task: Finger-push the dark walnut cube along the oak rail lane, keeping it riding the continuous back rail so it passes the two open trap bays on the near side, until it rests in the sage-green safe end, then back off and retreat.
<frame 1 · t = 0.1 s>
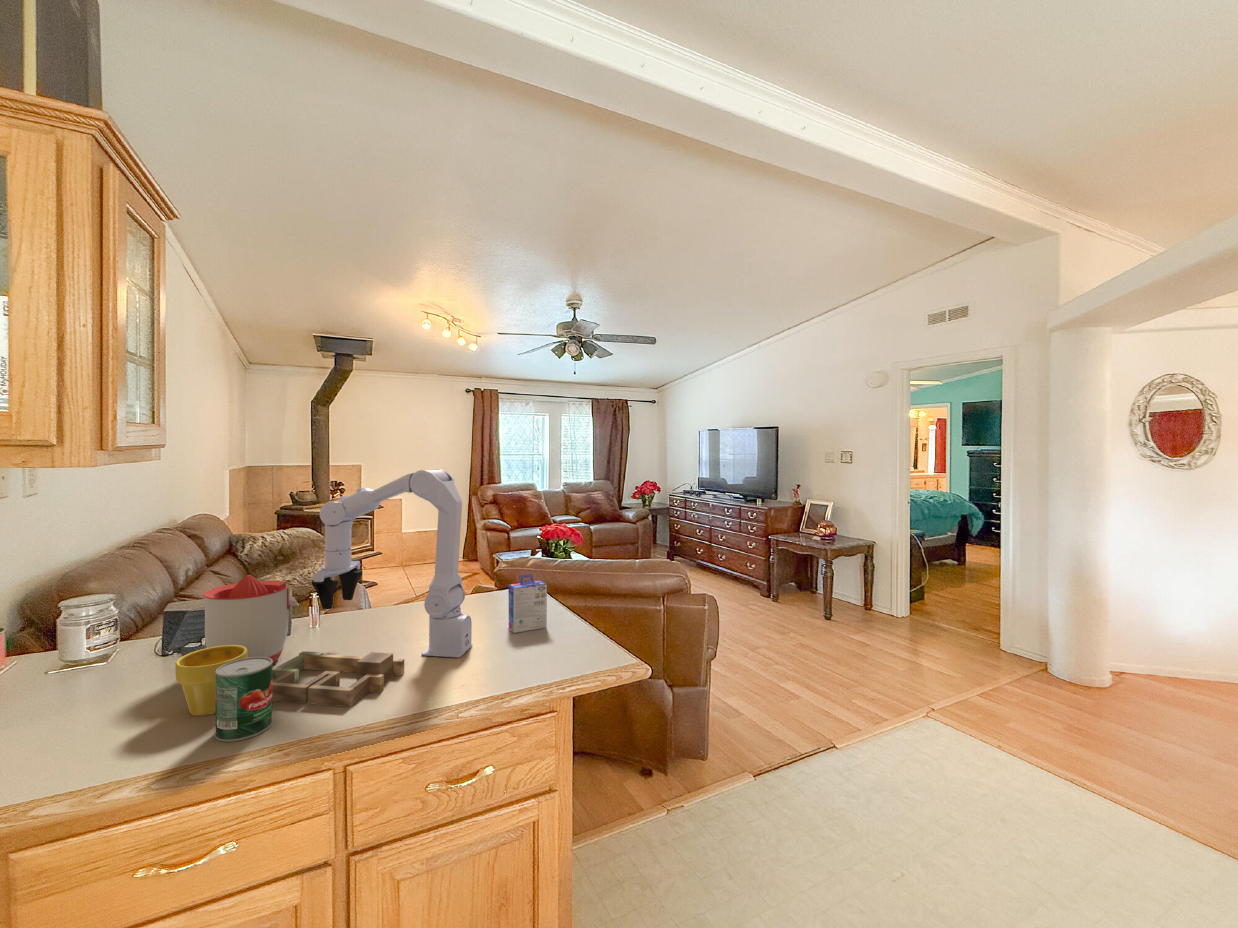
hand: (337, 604, 125), 10 cm above the counter, fingers open, 7 cm apart
canned tomato: (244, 730, 86), on the counter
trap lane: (343, 678, 106), on the counter
citrus juicer: (252, 663, 113), on the counter
ink cartridge box: (527, 628, 139), on the counter
plant pot: (212, 708, 93), on the counter
walnut block: (375, 681, 105), on the counter
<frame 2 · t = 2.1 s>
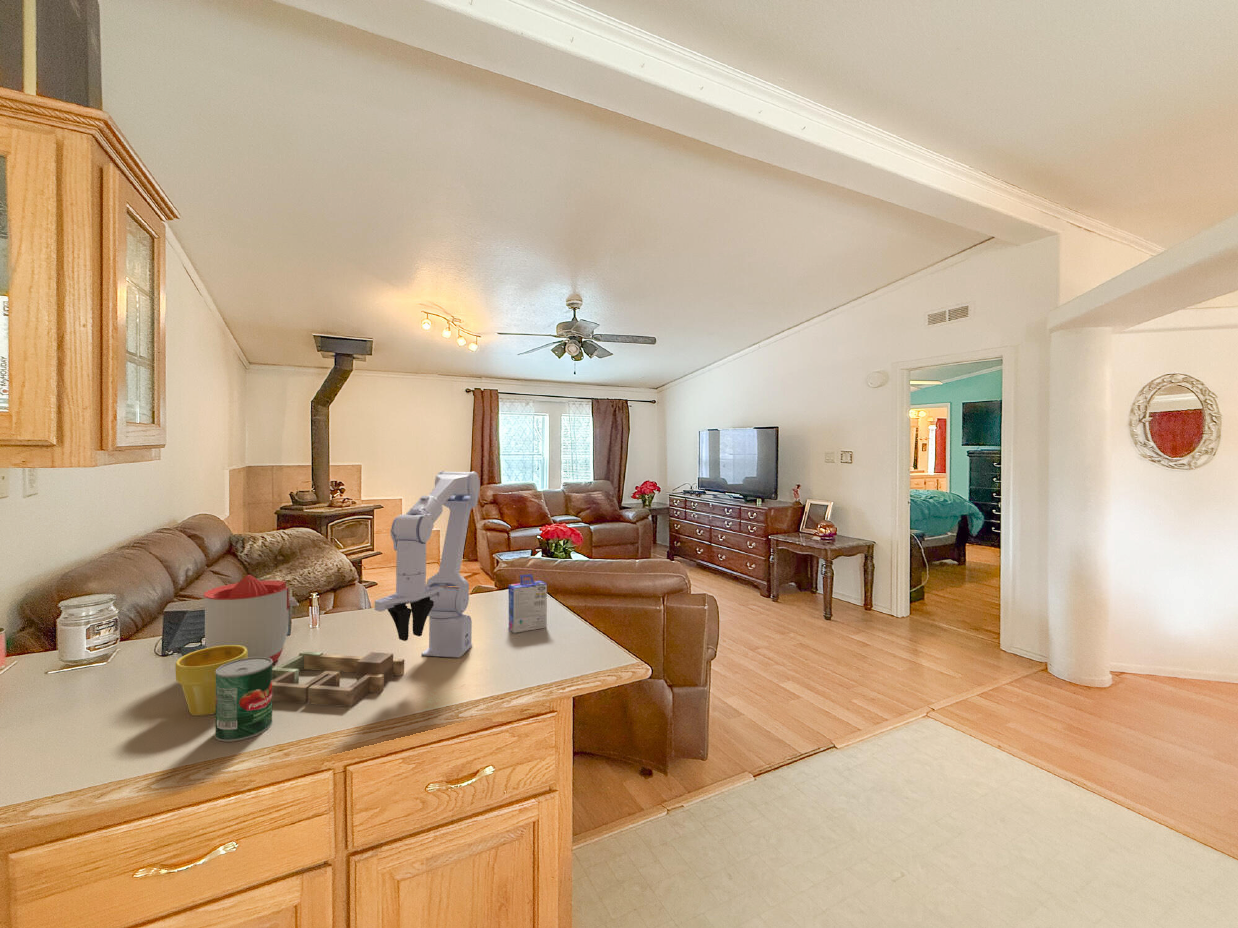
hand: (410, 637, 105), 9 cm above the counter, fingers open, 3 cm apart
nothing on the counter moved.
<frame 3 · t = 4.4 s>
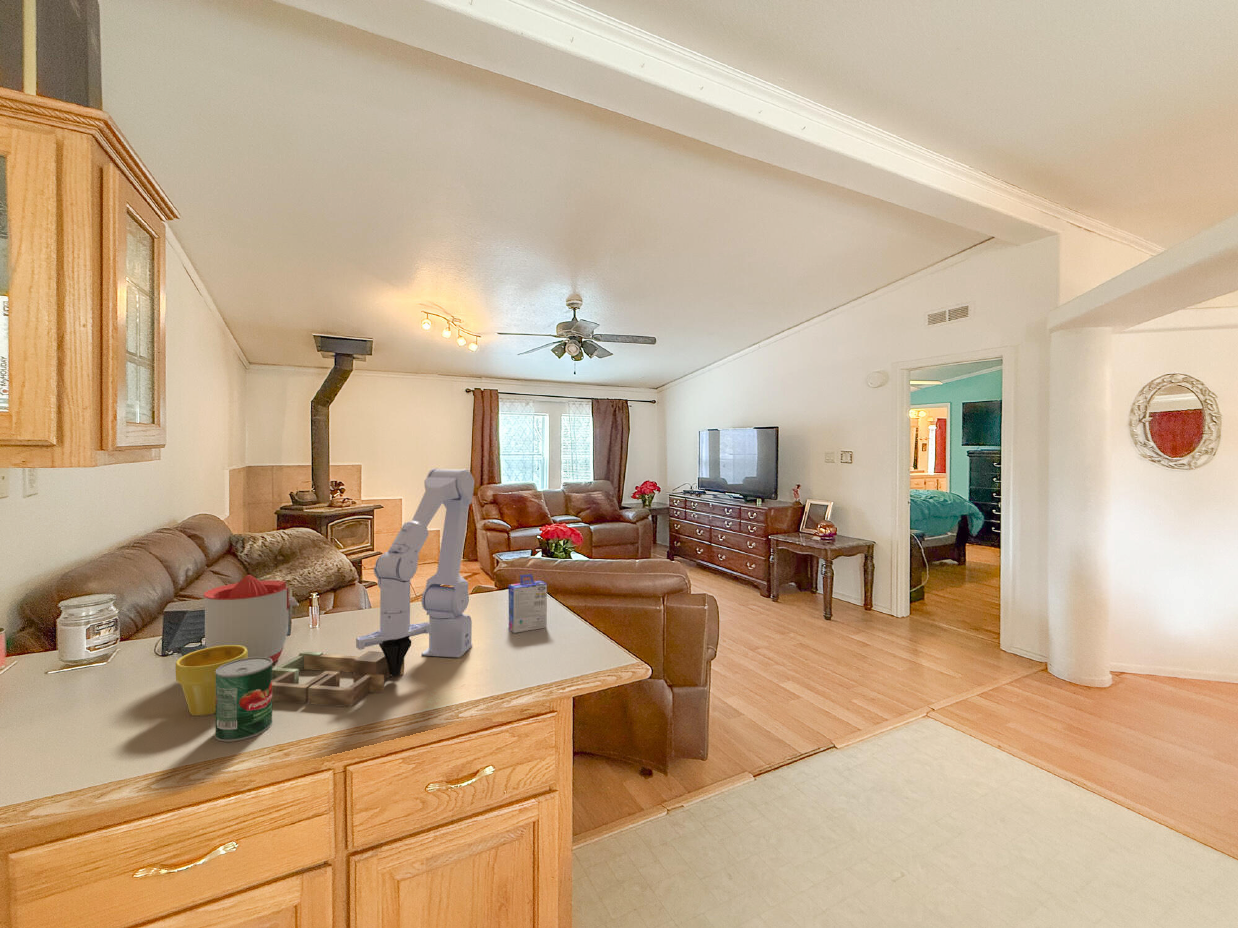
hand: (394, 674, 105), 1 cm above the counter, fingers closed
walnut block: (372, 679, 106), on the counter, touching gripper
everything else where it was.
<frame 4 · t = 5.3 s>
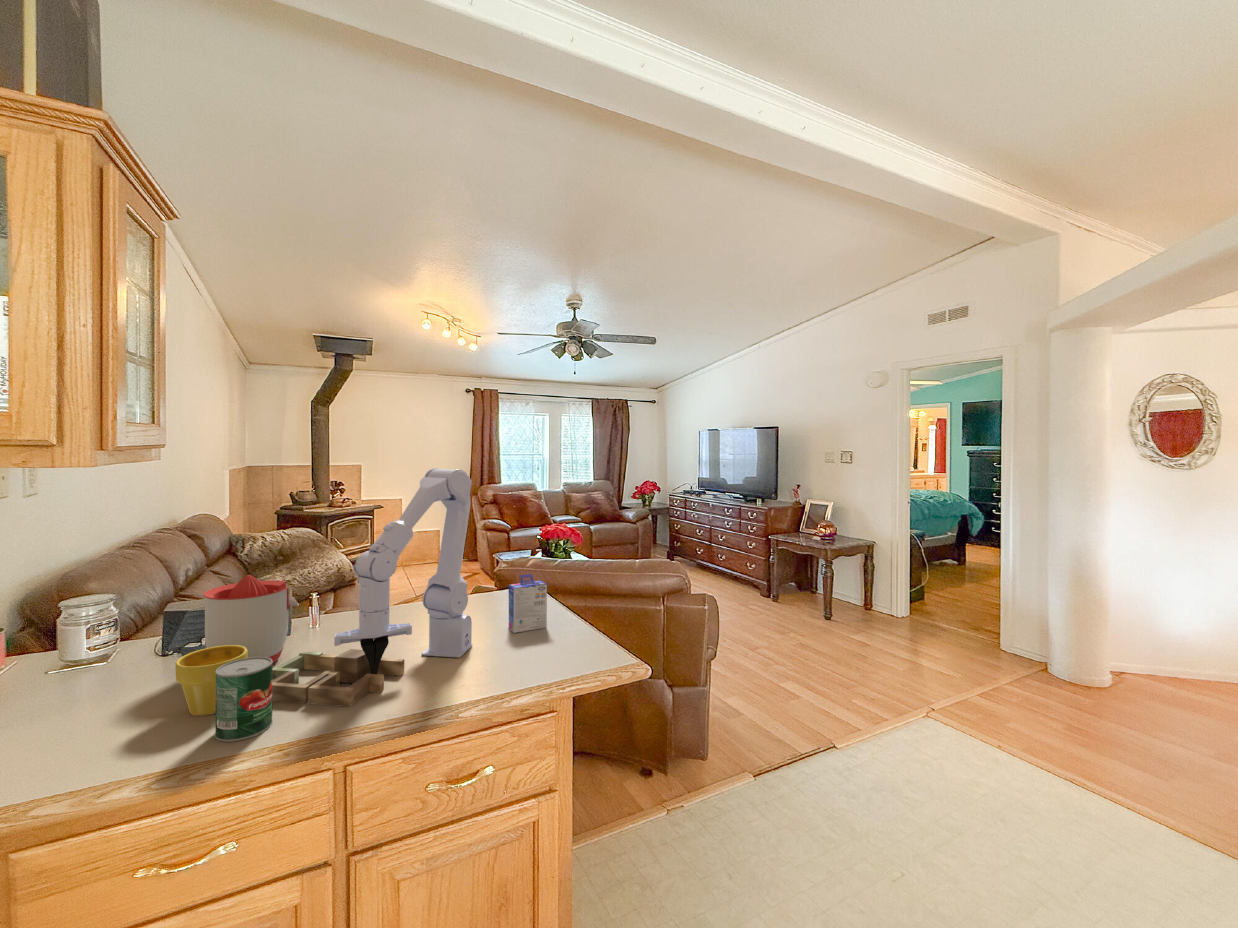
hand: (373, 673, 106), 1 cm above the counter, fingers closed
walnut block: (352, 677, 106), on the counter, touching gripper, trap lane
everything else where it was.
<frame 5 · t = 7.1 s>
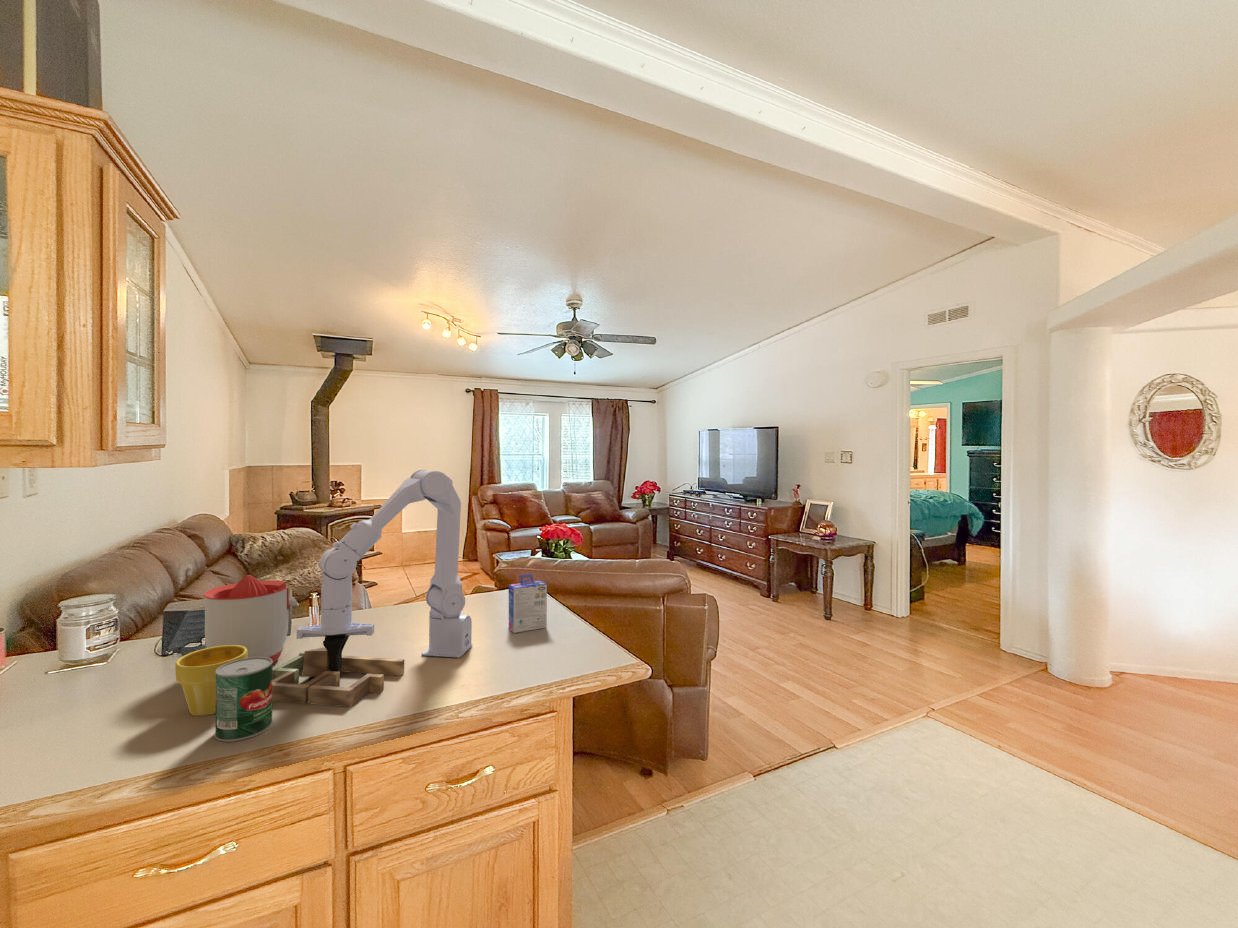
hand: (335, 669, 106), 2 cm above the counter, fingers closed, pressing on walnut block
walnut block: (321, 674, 107), point 1 cm above the counter, tilted 13°, touching gripper, trap lane
everything else where it was.
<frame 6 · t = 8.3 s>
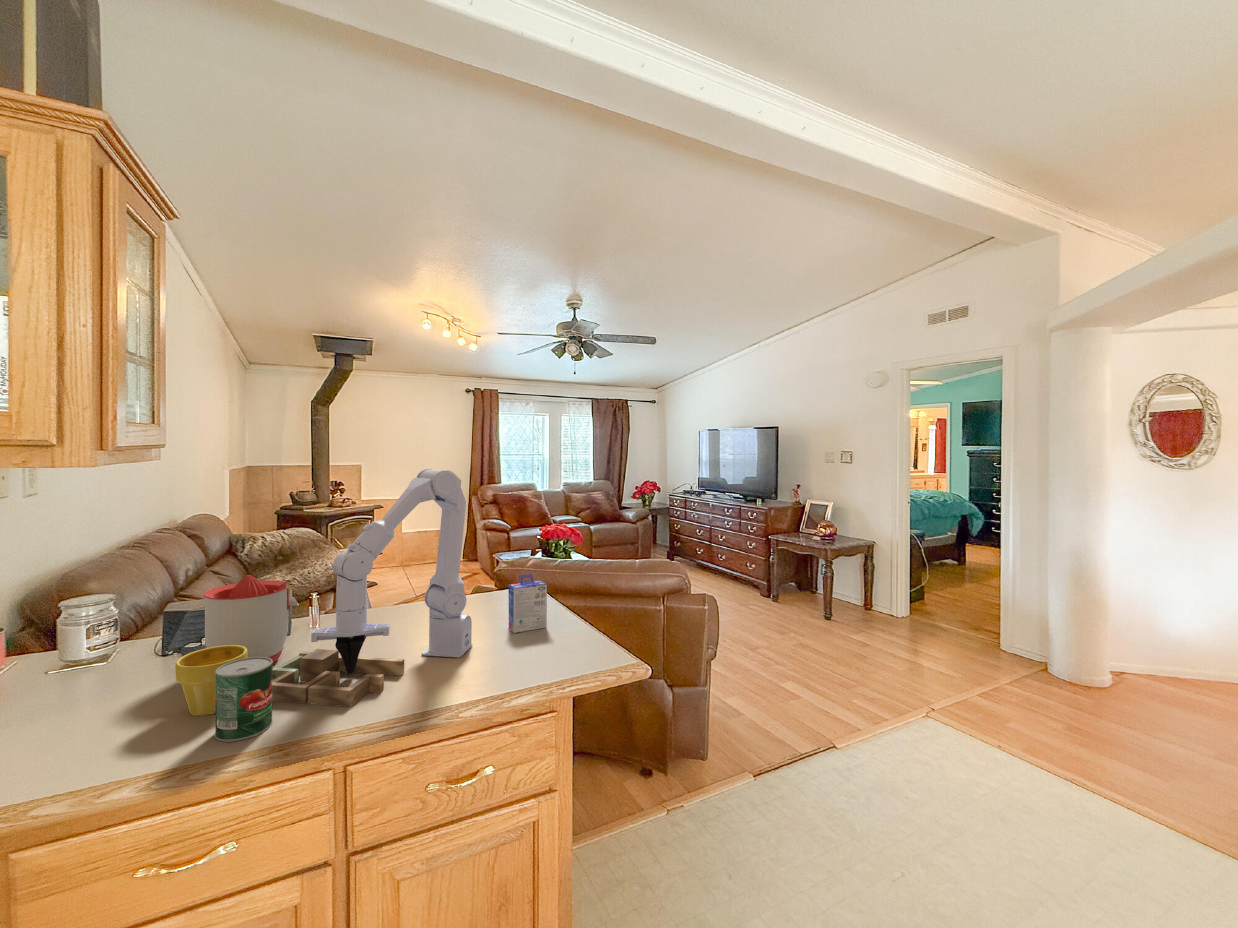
hand: (351, 671, 106), 1 cm above the counter, fingers closed
walnut block: (319, 677, 107), on the counter
everything else where it was.
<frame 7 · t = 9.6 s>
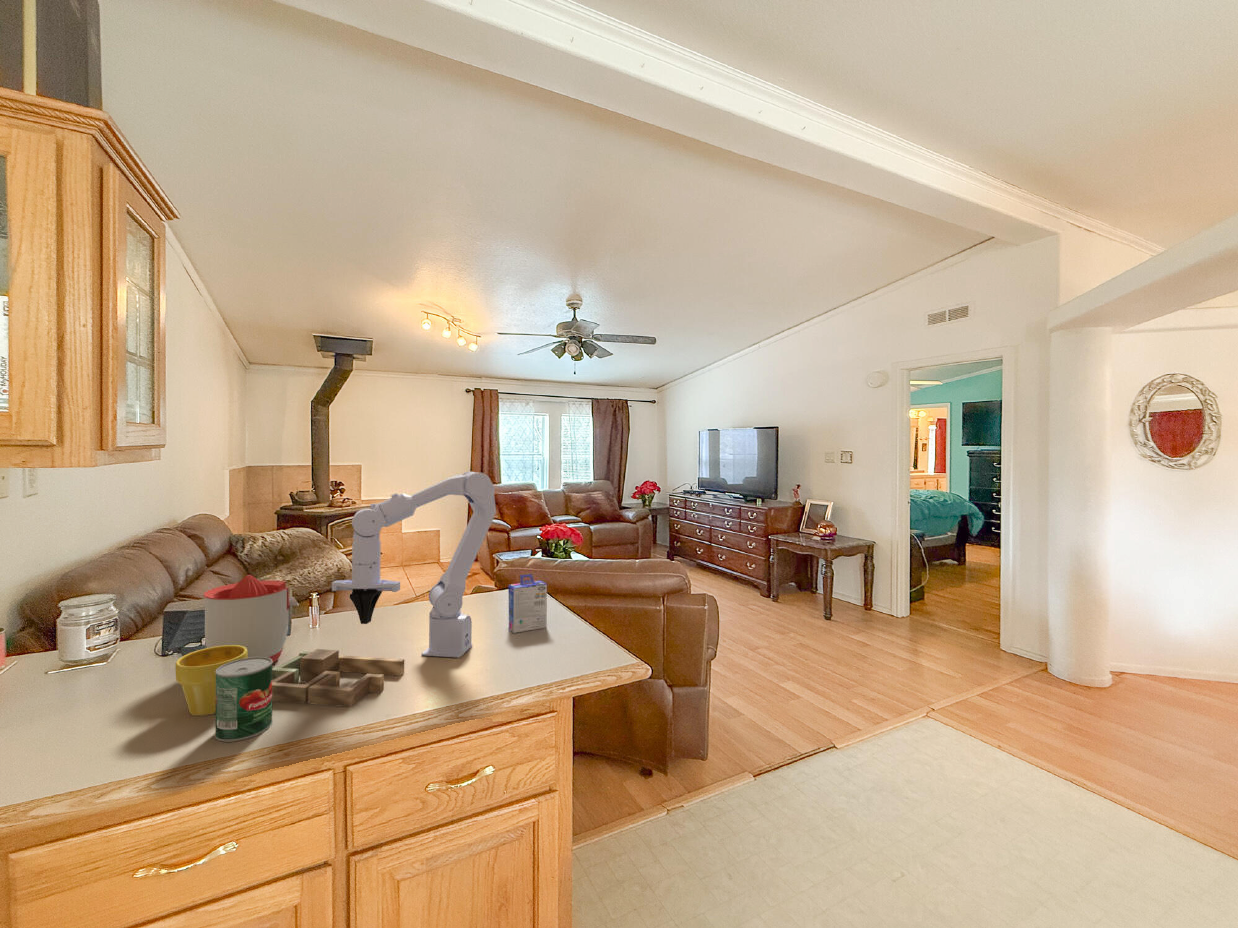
hand: (365, 622, 113), 9 cm above the counter, fingers closed
nothing on the counter moved.
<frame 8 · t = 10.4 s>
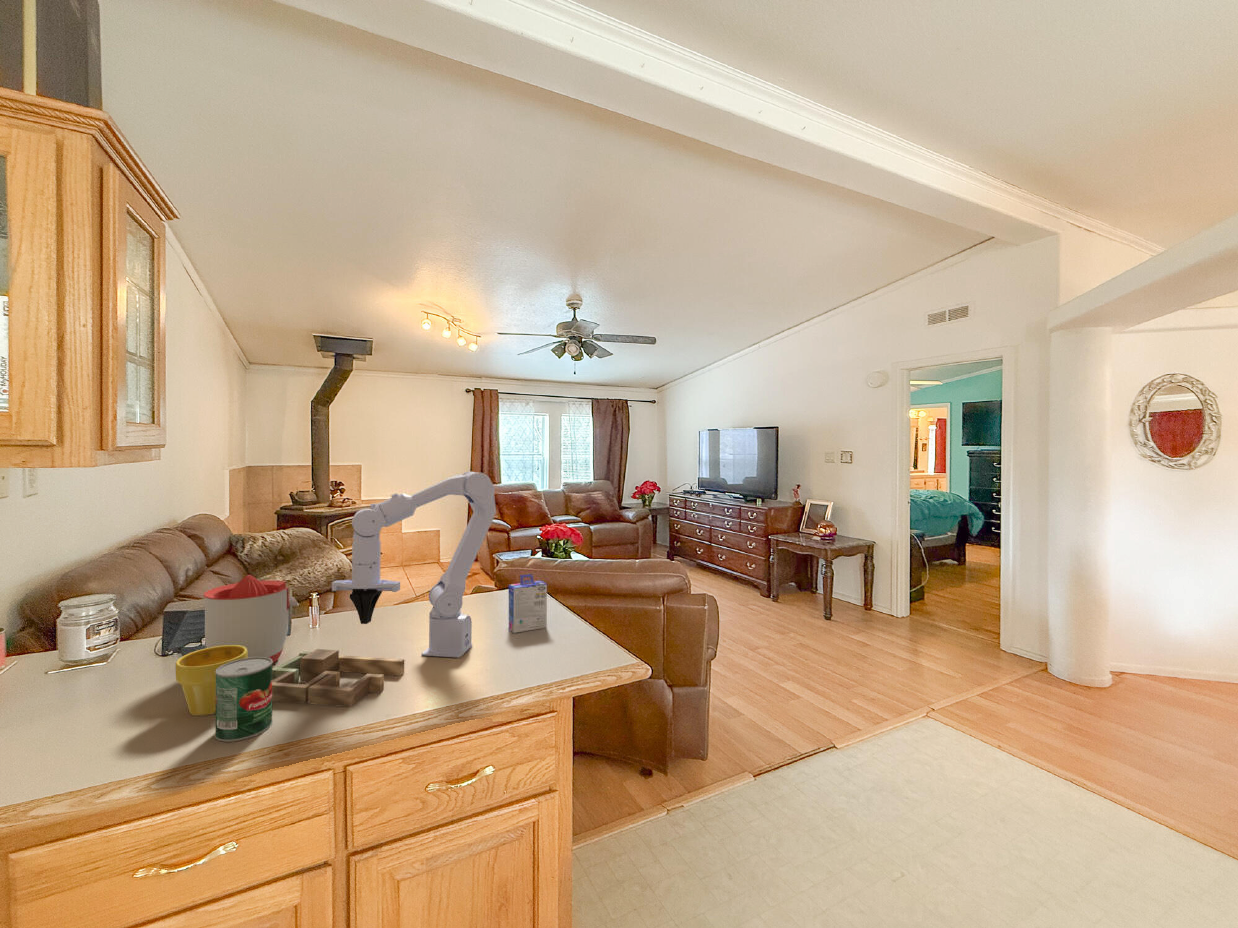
hand: (365, 622, 113), 9 cm above the counter, fingers closed
nothing on the counter moved.
at the end: walnut block inside the target area on the trap lane (2.4 cm from its centre), point 0.0 cm above the trap lane's base; walnut block moved 12.4 cm from its start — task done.
